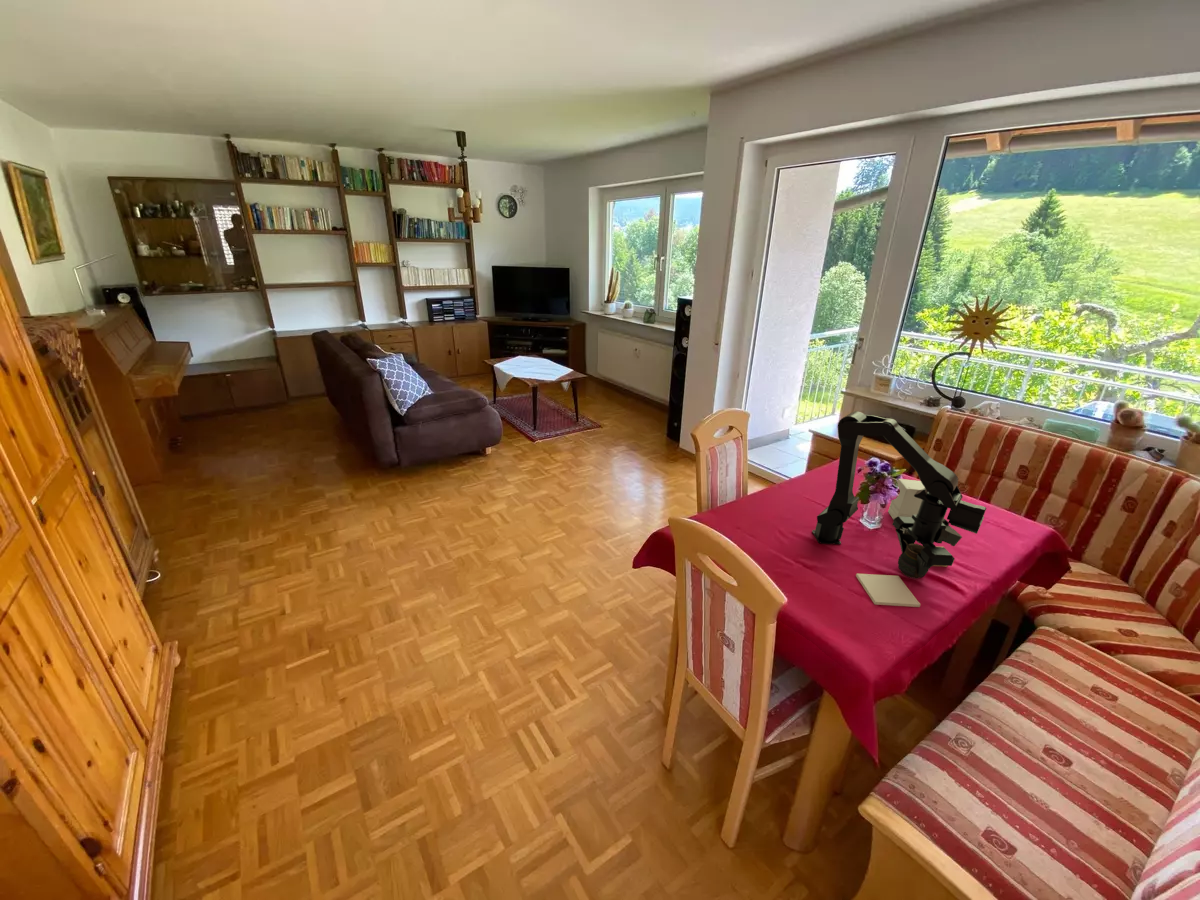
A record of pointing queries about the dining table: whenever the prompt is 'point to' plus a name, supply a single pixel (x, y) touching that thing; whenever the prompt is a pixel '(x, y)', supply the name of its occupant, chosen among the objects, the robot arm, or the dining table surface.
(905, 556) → the mate gourd
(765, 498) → the dining table surface
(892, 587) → the cream square tile
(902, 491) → the supplement box
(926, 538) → the robot arm
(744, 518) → the dining table surface
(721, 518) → the dining table surface
